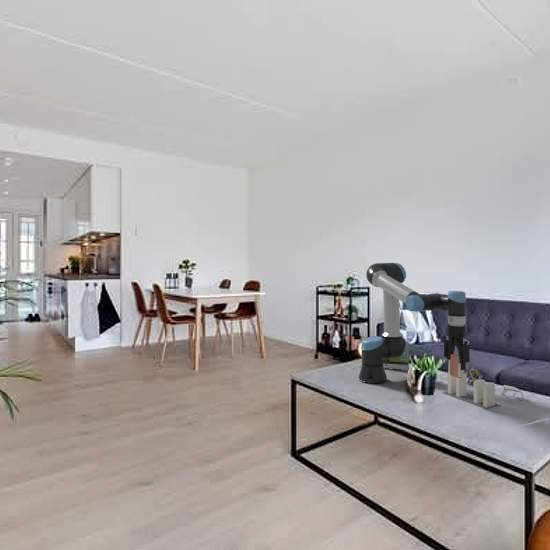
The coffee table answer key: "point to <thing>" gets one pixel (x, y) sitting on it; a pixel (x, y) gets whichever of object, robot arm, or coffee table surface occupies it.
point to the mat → (470, 400)
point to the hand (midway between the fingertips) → (456, 374)
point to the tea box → (398, 362)
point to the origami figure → (511, 390)
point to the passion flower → (472, 375)
